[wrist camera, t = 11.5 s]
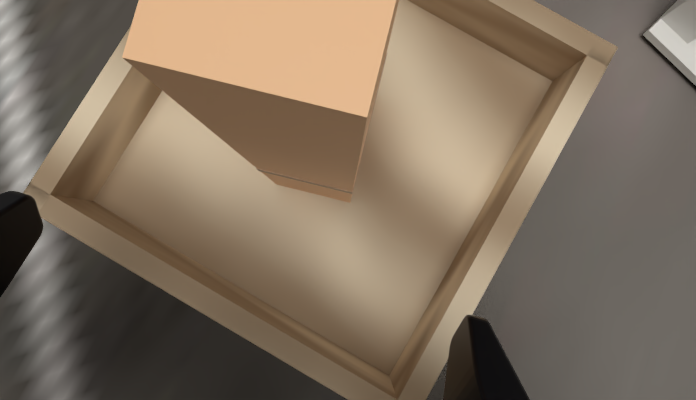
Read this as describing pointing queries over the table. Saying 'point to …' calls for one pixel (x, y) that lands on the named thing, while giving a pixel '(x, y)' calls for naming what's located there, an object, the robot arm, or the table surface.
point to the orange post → (273, 78)
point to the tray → (335, 215)
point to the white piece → (677, 36)
